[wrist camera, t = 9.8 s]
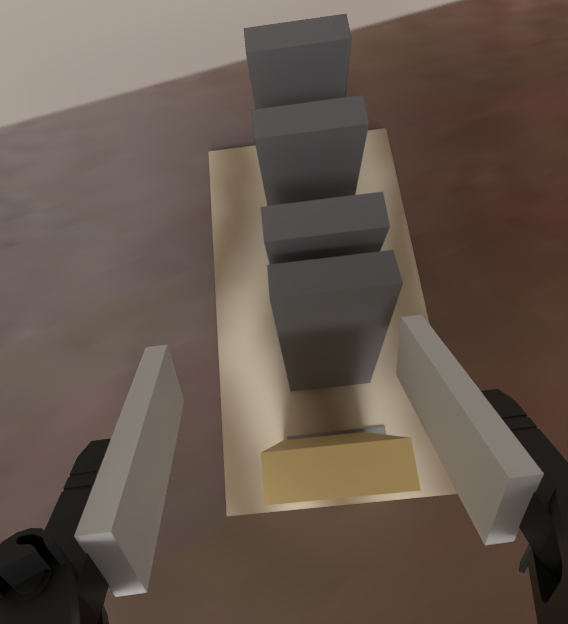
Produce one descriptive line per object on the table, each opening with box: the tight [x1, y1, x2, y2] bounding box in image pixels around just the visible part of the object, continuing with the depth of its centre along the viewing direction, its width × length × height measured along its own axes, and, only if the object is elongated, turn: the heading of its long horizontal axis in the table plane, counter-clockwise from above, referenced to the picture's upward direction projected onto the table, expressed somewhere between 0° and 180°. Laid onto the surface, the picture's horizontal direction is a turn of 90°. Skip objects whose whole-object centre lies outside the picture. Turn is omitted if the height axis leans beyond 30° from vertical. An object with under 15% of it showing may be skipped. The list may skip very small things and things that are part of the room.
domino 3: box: [261, 192, 390, 264], centre depth 20 cm, size 5×2×11 cm, turn 96°
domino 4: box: [267, 250, 403, 392], centre depth 19 cm, size 5×2×11 cm, turn 96°
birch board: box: [209, 128, 458, 516], centre depth 26 cm, size 14×26×1 cm, turn 6°
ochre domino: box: [261, 432, 421, 505], centre depth 18 cm, size 5×2×11 cm, turn 96°
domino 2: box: [251, 95, 369, 206], centre depth 22 cm, size 5×2×11 cm, turn 96°
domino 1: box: [244, 14, 351, 109], centre depth 23 cm, size 5×2×11 cm, turn 96°
